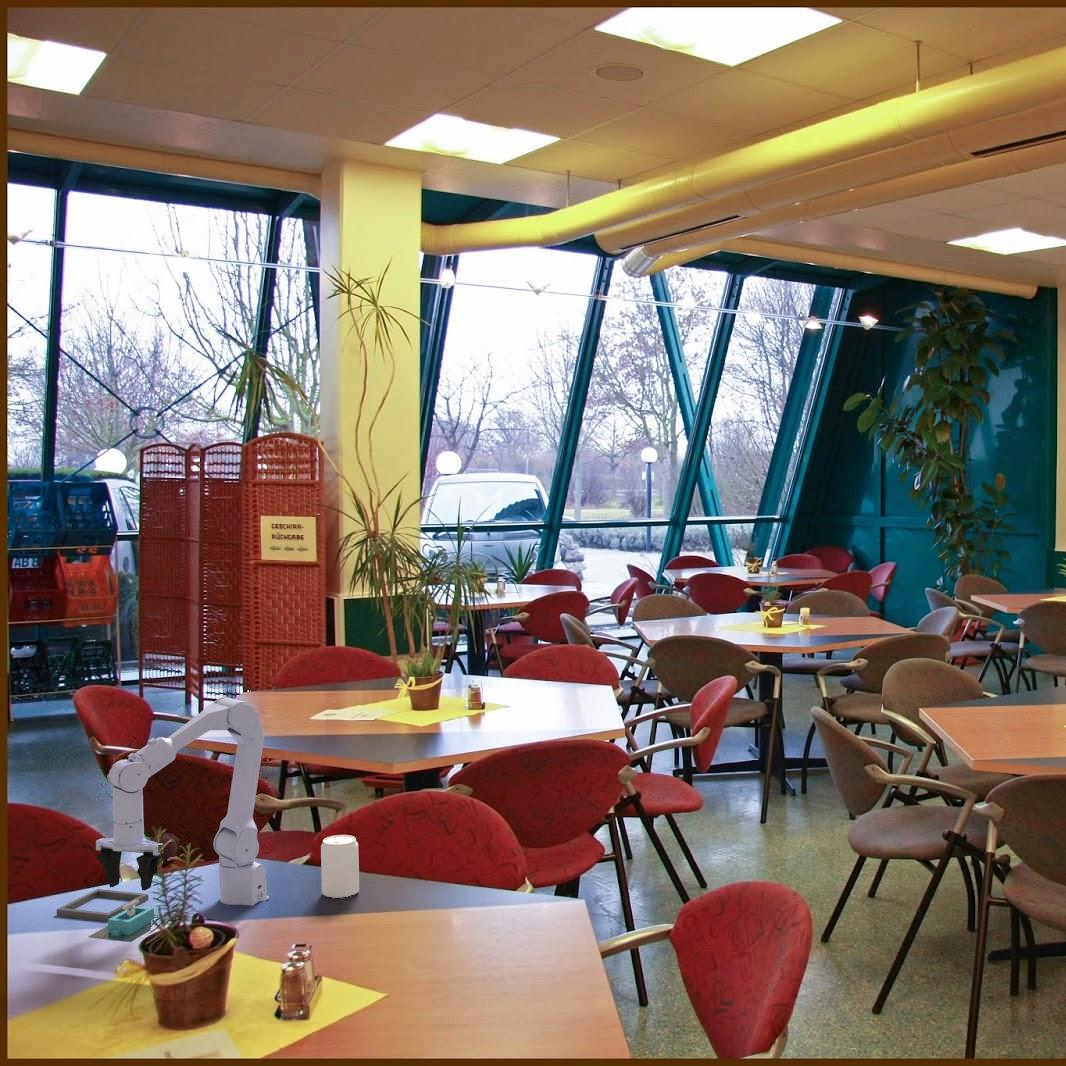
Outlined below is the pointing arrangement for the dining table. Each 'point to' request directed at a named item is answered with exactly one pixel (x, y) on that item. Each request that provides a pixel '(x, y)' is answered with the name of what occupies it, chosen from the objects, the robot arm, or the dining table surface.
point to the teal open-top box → (130, 921)
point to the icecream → (170, 849)
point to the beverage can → (340, 866)
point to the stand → (127, 938)
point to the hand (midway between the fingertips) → (130, 887)
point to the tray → (70, 907)
